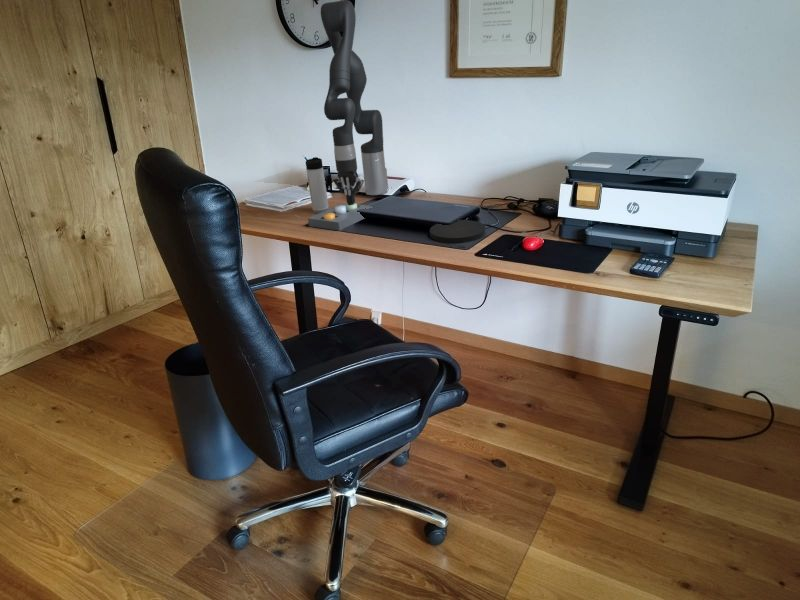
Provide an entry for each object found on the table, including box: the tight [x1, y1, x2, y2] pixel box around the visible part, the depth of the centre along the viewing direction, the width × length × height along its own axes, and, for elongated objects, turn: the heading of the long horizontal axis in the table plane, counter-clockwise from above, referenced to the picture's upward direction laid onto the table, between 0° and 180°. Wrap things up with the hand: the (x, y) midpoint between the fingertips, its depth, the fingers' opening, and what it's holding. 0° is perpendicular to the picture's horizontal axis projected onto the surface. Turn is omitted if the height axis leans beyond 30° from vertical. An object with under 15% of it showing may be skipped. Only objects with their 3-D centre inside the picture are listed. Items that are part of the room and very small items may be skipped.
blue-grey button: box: [334, 204, 346, 215], centre depth 202 cm, size 4×4×4 cm
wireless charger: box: [429, 219, 486, 244], centre depth 179 cm, size 18×18×2 cm
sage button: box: [346, 202, 358, 210], centre depth 207 cm, size 4×4×4 cm
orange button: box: [323, 213, 335, 220], centre depth 198 cm, size 4×4×4 cm
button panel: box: [307, 202, 374, 232], centre depth 203 cm, size 20×14×3 cm
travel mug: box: [305, 156, 330, 214], centre depth 213 cm, size 6×7×20 cm
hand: (351, 204), depth 206 cm, fingers closed
